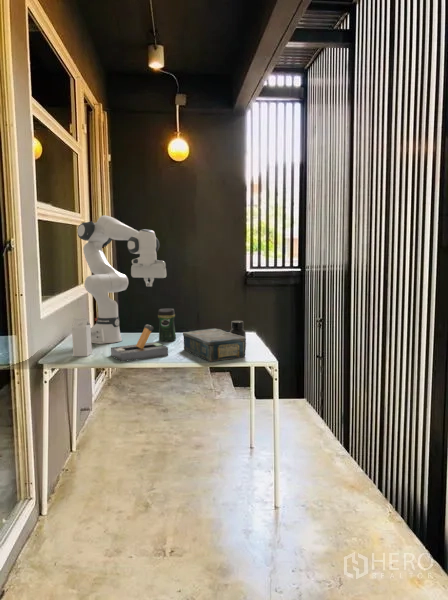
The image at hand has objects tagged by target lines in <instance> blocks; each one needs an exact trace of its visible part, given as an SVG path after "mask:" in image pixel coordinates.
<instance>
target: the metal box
mask: <svg viewBox="0 0 448 600" xmlns="http://www.w3.org/2000/svg"><path fill="white" fill-rule="evenodd" d="M182 336H183V350H184V351H186V352H188V353H190V354H192V355H194V356H197V357H199V358H201V359H203V360H204V361H205V360H206V361H207V362H209V363H212V361H213V362H219V361H218V360H220V361H227V360H233V358H234V359H239V357H240V358H244V357H246V350H247V349H246V346H247V345H246V344H247V343H246V342H247V341H246V340H247V337H246V338H245V337H244V336H240V335H236V334H233V333H231V332H230V331H225V330H222V329H220V328H207V329H198V330H197V329H196V330H190V331H183V332H182ZM226 359H227V360H226Z"/></svg>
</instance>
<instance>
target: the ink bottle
mask: <svg viewBox="0 0 448 600" xmlns="http://www.w3.org/2000/svg"><path fill="white" fill-rule="evenodd" d="M230 323H231V324H230V325H231V329H230V331H229V332H231V333H233V334H236V335H240V336H244V337H245V338H246V339H247V335H246V333H247V332H246V330H245V329H244V326H245V325H244V321H243V320H231V322H230Z"/></svg>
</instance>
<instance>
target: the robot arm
mask: <svg viewBox="0 0 448 600" xmlns="http://www.w3.org/2000/svg"><path fill="white" fill-rule="evenodd" d="M77 236H78V238H79V239H81V240H82V241H85V242H86V241H87V242H86V243H85V244H84V246H83V254H84V258H85V261H86V263H87V265H88V268H89V270H90V271H91V273H92V274H91V275H88V276H86V278H85V280H84V287H85V290H86V291H87V293H88V294H90V295H91V296H93V298H94V299H95V301H96V305H97V312H98V313H97V314H98V317H97V318H96V317H95V319H94V321H96V323H95V324H94V325H92V326H91V344H98V345H102V344H103V345H104V344H112V343H113V344H114V343H118V342H121V341H123V339H122V336H121V330H120V317H119V304H118V302H117V301H116V300H115V299H112V298H110V296H109V294H111V293H119V292H122V291H126V290H127V288H128V286H129V278H128V276H127V275H126V274H124V273H121V272H120V271H118V270H117V269H116V268H114V267H113V266H112V265H111V264H110V263H109V261H108V259H107V257H106V254H105V253H104V251H103V248H106V247H107V246H108V245H109V244H111V242H112V241H113V240H115V241H127V243H126V246H127V250H128V252H129V253H130V254H135V255H139V257H137V258H133V259H132V260H131V264H132V265H131V268H130V275H131V277H132V278H138V279H140V278H143V281H144V283H145V287H153V283H154V281H155V279H164V278H166V277H167V268H166V267H167V264H166V262H165V261H164V260H162V259H161V260H159V259H157V258H158V257H157V256H158V255H157V252H158V251H159V248H160V241H159V239H158V238H157V237H156V233H155V231H154V230H152V229H146V228H145V229H143V228H142V229H140V230H137V229H134V228H133V227H131V226H129V225H127V224H125V223H124V222H121V221H120V220H118V219H117V218H115V217H112V216H110V215H106V214H105V215H101V216H100V217H98V219H97V221H96V222H93V220H91V221H88V222H87V221H85V222H81V223H80V224H79V226H78V228H77ZM148 280H150V281H148Z"/></svg>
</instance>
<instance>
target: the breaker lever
mask: <svg viewBox="0 0 448 600" xmlns="http://www.w3.org/2000/svg"><path fill="white" fill-rule="evenodd" d="M154 329H155V328H154V326H153V325H150V324H145V325H144V327H143V331H142V333H141V335H140V337H139V338H138V341H137V343H136V344H135V345H136V346H137V347H139V348H141V349H143V348H144V346H145V344H146V343H148V339H149V338H150V336H151V334H152V332H153V330H154Z"/></svg>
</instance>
